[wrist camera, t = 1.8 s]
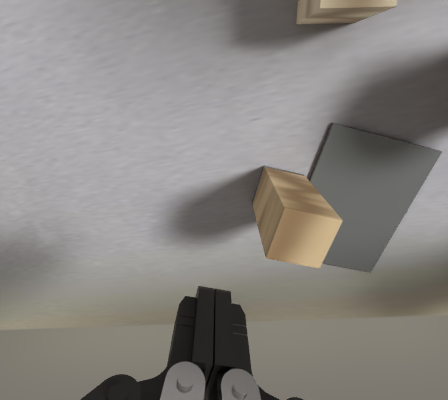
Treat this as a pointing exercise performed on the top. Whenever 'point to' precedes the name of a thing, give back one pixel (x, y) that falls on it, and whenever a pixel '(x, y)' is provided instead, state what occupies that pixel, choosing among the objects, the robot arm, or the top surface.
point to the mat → (368, 190)
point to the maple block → (339, 10)
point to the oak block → (293, 218)
